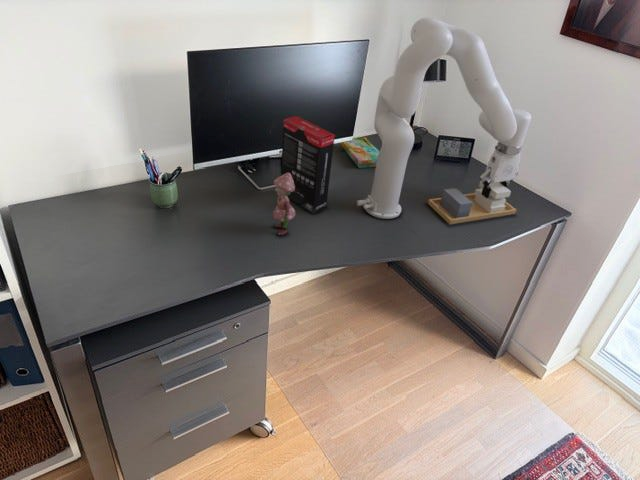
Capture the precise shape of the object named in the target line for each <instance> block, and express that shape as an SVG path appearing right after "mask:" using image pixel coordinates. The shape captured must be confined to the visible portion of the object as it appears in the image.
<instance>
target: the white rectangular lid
mask: <svg viewBox="0 0 640 480" xmlns="http://www.w3.org/2000/svg"><path fill="white" fill-rule="evenodd" d="M490 181H491V180H489V181H488V183H489V182H490ZM478 187H479V188H480V189H481V188H482V189H483V187H484V185H483V183H482V181H481V180H480V181H479V184H478ZM490 188H491V191H490V194H489V195H491V196H492V197H493V198H494V199H498V198H505V199H506V198H510V197H511V194H512V191H511V190H510V189H509V188H508V187H507V188H506V187H505V186H503V185H502V184H501V183H500V182H494V183H493V184H492V186H491V187H490Z"/></svg>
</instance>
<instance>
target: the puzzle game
mask: <svg viewBox="0 0 640 480" xmlns="http://www.w3.org/2000/svg"><path fill="white" fill-rule="evenodd" d="M352 138H353V139H352V140H351V141H348V142H344V143H340V142H339V144H340V145H341V146H342V149H343V151H344V152H345V153H346V154H347V156H348V157H349V158H350V159H351V160H352V162H353V163H354V164H355V165H356V167H357V168H358V169H365V168H366V169H367V168H376V163H377V158H378V154H379V152H380V150H379V149H378V148H376V146H374V144H373V143H371V141H370V140H369V139H367V137H352Z"/></svg>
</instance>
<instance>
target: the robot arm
mask: <svg viewBox="0 0 640 480" xmlns="http://www.w3.org/2000/svg"><path fill="white" fill-rule="evenodd" d="M410 39H411V42H412V43H410V44H409V45H408V46H407V47H406V48H405V49H404V50H403V51H402V52H401V55H400V56H399V58H398V60H397V62H396V65H395V71H394V75H392V76H390V77H388V78H387V79H385V81H384V82H383V83H382V84H381V86H380V88H379V92H378V97H377V103H376V107H375V113H374V120H373V122H374V124H373V125H374V131H375V132H376V134H377V136H378V138H379V139H380V141H381V147H380V150H379V154H378V158H377V163H376V167H375V170H374V176H373V180H372V187H371V191H370V194H368V195H367V198H364V199H360V200H359V199H357V200H356V206H357V207H363V209H364V210H365V211H366V212H367V213H368V214H369V215H371V216H373V217H375V218H378V219H384V220H385V219H386V220H390V219H395V218H397V217H399V216H400V214H401V213H402V206H401V205H400V203H399V202H400V197H401V194H402V193H401V192H402V188H403V183H404V179H405V173H406V169H407V166H408V165H407V164H408V161H409V158H410V154H411V151H412V149H413V147H414V144H415V133H414V130H413V128H412V126H411V125H410V123H409V122H408V121H407V120H406V119H409V118H411V117H413V116H414V114H415V113H416V111H417V110H418V107H419V103H420V99H421V98H420V97H421V93H422V88H423V84H424V79H425V75H426V73H427V71H428V69H429V68H430V66H432V64H433V63H434V62H436V61H437V60H439V59H441V58H442V57H444V56H449V57H450V58H451V59H453V60H454V61H455V62H456V64H457V67H458V69H459V72H460V74H461V77H462V79H463V82H464V85H465V87H466V90H467V92H468V93H469V95H470V96H471V98H472V99H473V100H474V102H475V103H476V104H477V105H478V106H479V108H480V109H481V111H480V112H479V115H478V123H479V125H480V126H481V128H483V130H484V131H486V132H487V133H488V134H489V135H490V136H491V137H492V138H493V139H494V140H496V141H497V143H496V145H495V146H494V150H493V152H492V154H491V156H490V158H489V160H488V163H487V165H486V169H485V170H484V172H483V173H482V174H481V175H480V176H479V180H480V181H482V183H483V185H484V187H483V190H482V193H481V194H482V195H483V196H484V197H485V198H488V197H489V194H490V191H491V188H490V187H491V186H492V184H493V183H494V182H499V183H501V184H502V185H503V186H505V187H506V188H507V189H508V186H510V185H511V183H512V182H513V181H514V179H516V177H517V176H518V175H519V172H518V171H519V166H520V162H521V155H522V153H521V150H522V147H523V144H524V141H525V138H526V136H527V132H528V130H529V127H530V124H531V121H532V115H531V113H530V112H528V111H527V110H524V109H521V108H520V109H518V108H512V106H511V104H510V101H509V99H508V98H507V96H506V94H505V92H504V90H503V88H502V86H501V84H500V83H499V80H498V79H497V76H496V74H495V71H494V68H493V65H492V62H491V60H490V57H489V53H488V51H487V48H486V45H485V43H484V40H483V39H482V38H481V37H480V36H478V35H477V34H475V33H473V32H472V31H470V30H468V29H466V28H463V27H460V26H457V25H453V24H451V23H447V22H445V21H441V20H438V19H436V18H432V17H422V18H420V19H418V20H416V21H415V22H414V24H413V25H412V27H411V30H410ZM489 180H491V181H490V182H489V183H488V181H489Z"/></svg>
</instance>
